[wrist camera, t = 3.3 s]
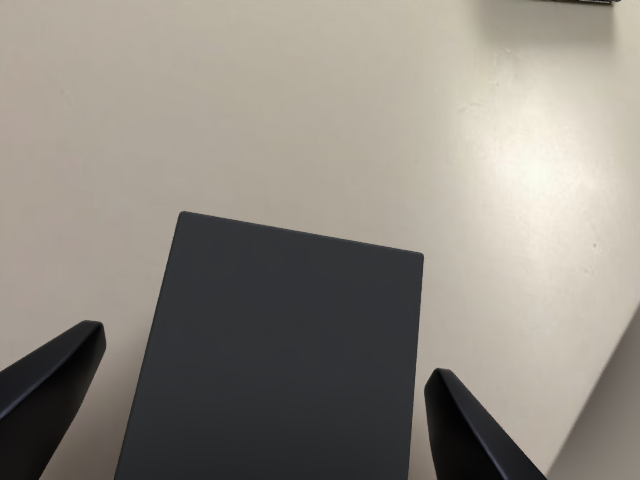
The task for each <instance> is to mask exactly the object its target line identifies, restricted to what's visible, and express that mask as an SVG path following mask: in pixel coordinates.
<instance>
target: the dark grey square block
mask: <svg viewBox="0 0 640 480" xmlns="http://www.w3.org/2000/svg"><path fill="white" fill-rule="evenodd" d="M423 262H424V255H423V254H422V253H419V252H413V251H408V250H402V249H396V248H391V247H385V246H379V245H374V244H368V243H362V242H357V241H351V240H345V239H340V238H334V237H328V236H323V235H317V234H311V233H306V232H300V231H294V230H289V229H283V228H277V227H272V226H266V225H260V224H255V223H249V222H243V221H238V220H232V219H226V218H221V217H215V216H209V215H203V214H198V213H192V212H186V211H182V212H180V214H179V217H178V221H177V225H176V229H175V233H174V237H173V241H172V245H171V249H170V253H169V257H168V261H167V265H166V269H165V273H164V277H163V282H162V286H161V290H160V294H159V298H158V302H157V306H156V310H155V314H154V318H153V322H152V326H151V330H150V334H149V338H148V342H147V346H146V351H145V355H144V359H143V363H142V367H141V371H140V375H139V379H138V383H137V387H136V391H135V395H134V399H133V403H132V407H131V411H130V415H129V420H128V424H127V428H126V432H125V436H124V440H123V444H122V448H121V452H120V456H119V460H118V464H117V468H116V472H115V476H114V480H408V470H409V456H410V442H411V428H412V415H413V401H414V387H415V373H416V359H417V345H418V331H419V317H420V304H421V290H422V276H423Z"/></svg>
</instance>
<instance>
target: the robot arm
mask: <svg viewBox="0 0 640 480" xmlns="http://www.w3.org/2000/svg"><path fill="white" fill-rule="evenodd" d="M105 350H106V338H105V332H104V326H103V324H102V323H101V322H98V321H90V320H85V321H82V322H80V323H78V324H77V325H75V326H74V327H72V328H70V329H69V330H67V331H65V332H64V333H62V334H61V335H59V336H57V337H56V338H54V339H52V340H51V341H49V342H48V343H46V344H44V345H43V346H41V347H39V348H38V349H36V350H35V351H33V352H31V353H30V354H28V355H27V356H25V357H23V358H22V359H20V360H18V361H17V362H15V363H14V364H12V365H10V366H9V367H7V368H5V369H4V370H2V371H1V372H0V480H39V478H40V476H41V475H42V473H43V471H44V469H45V468H46V466H47V464H48V462H49V461H50V459H51V457H52V456H53V454H54V452H55V450H56V449H57V447H58V445H59V444H60V442H61V440H62V438H63V437H64V435H65V433H66V431H67V430H68V428H69V426H70V425H71V423H72V421H73V419H74V418H75V416H76V414H77V412H78V410H79V408H80V406H81V404H82V402H83V400H84V397H85V395H86V393H87V391H88V388H89V386H90V384H91V382H92V380H93V377H94V375H95V373H96V371H97V368H98V366H99V364H100V362H101V359H102V357H103V355H104V353H105ZM424 396H425V405H426V414H427V423H428V431H429V440H430V447H431V452H432V458H433V462H434V467H435V471H436V476H437V480H547V479H546V477H545V476H544V475H543V474H542V473H541V472H540V471H539V469H538V468H537V467H536V466H535V465H534V464H533V463H532V462H531V460H530V459H529V458H528V457H527V456H526V455H525V454H524V452H523V451H522V450H521V449H520V448H519V447H518V446H517V444H516V443H515V442H514V441H513V440H512V439H511V438H510V437H509V435H508V434H507V433H506V432H505V431H504V430H503V429H502V427H501V426H500V425H499V424H498V423H497V422H496V421H495V419H494V418H493V417H492V416H491V415H490V414H489V413H488V412H487V410H486V409H485V408H484V407H483V406H482V405H481V404H480V402H479V401H478V400H477V399H476V398H475V397H474V396H473V394H472V393H471V392H470V391H469V390H468V389H467V388H466V387H465V385H464V384H463V383H462V382H461V381H460V380H459V379H458V377H457V376H456V375H455V374H454V373H453V372H452V371H451V370H449V369H442V368H436V369H435V370H434V371H433V373H432V374H431V376H430V378H429V380H428V381H427V383H426V385H425V388H424Z"/></svg>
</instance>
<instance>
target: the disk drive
mask: <svg viewBox="0 0 640 480" xmlns="http://www.w3.org/2000/svg"><path fill="white" fill-rule="evenodd" d="M581 1H594V2H605V3H609V2H610V1H614V2H619V1H621V0H581Z"/></svg>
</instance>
